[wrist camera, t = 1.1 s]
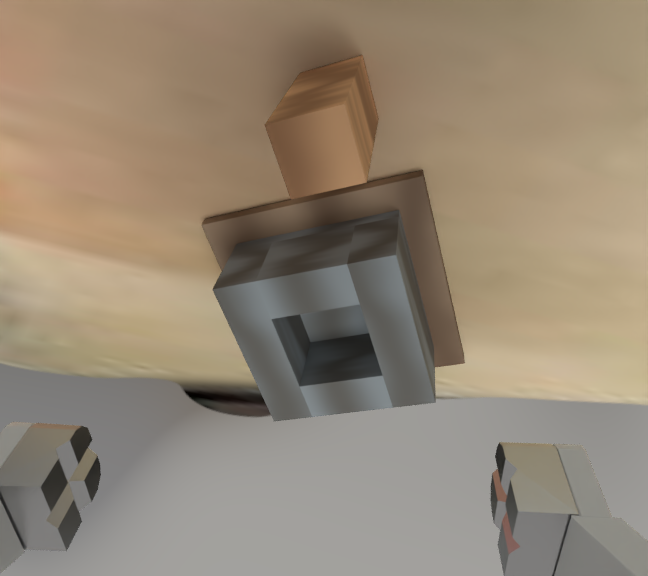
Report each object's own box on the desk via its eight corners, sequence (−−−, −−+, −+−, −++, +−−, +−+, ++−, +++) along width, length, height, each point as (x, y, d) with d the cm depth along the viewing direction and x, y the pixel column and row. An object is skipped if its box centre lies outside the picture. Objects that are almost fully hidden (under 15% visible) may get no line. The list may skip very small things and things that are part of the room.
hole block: (422, 170, 39) (422, 218, 33) (463, 355, 47) (469, 419, 41) (205, 218, 43) (172, 269, 37) (277, 380, 51) (258, 442, 45)
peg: (362, 54, 35) (344, 103, 27) (378, 119, 37) (366, 182, 29) (300, 73, 37) (264, 124, 28) (318, 134, 39) (291, 199, 30)
